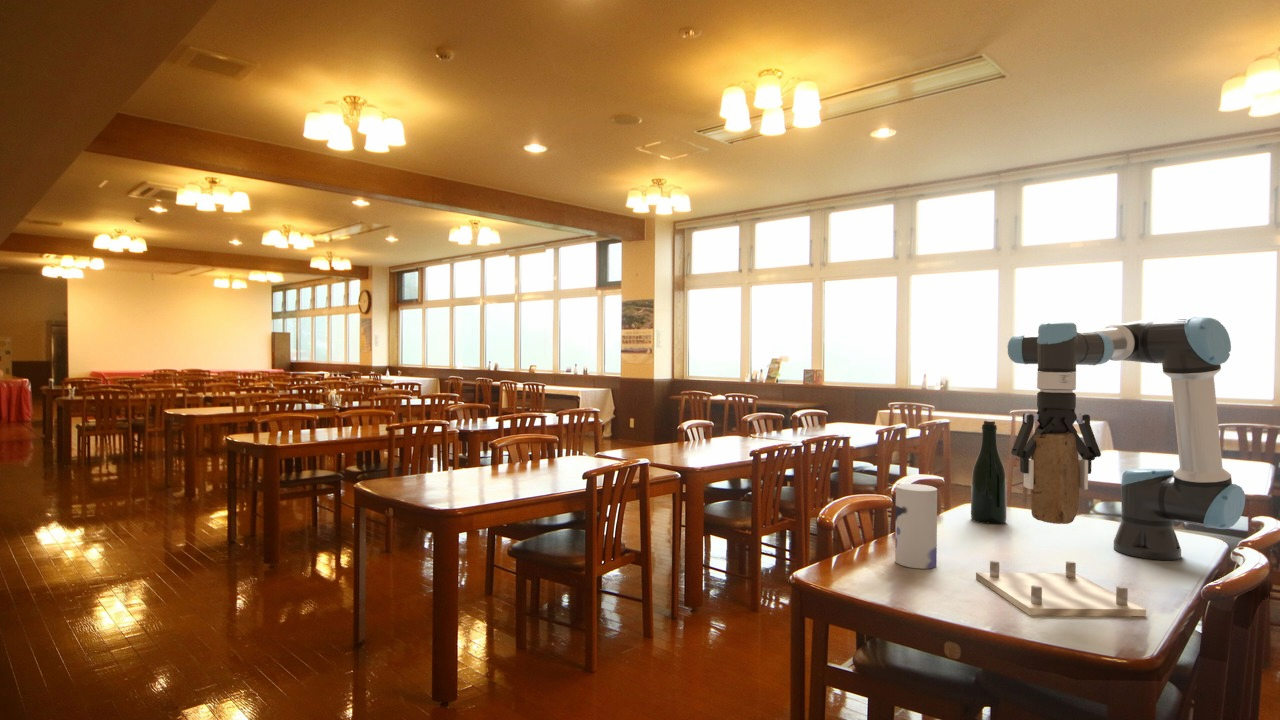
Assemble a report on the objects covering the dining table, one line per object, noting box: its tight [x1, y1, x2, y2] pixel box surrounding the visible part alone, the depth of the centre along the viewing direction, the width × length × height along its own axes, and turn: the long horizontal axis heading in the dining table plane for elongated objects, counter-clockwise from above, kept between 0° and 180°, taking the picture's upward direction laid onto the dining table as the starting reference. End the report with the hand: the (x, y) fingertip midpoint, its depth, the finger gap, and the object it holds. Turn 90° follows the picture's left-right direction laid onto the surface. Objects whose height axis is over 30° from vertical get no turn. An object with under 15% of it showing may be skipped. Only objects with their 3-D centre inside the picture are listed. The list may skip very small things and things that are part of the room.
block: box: [1030, 432, 1080, 525], centre depth 157 cm, size 11×8×20 cm
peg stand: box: [975, 560, 1147, 617], centre depth 158 cm, size 24×24×5 cm
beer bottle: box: [970, 420, 1007, 525], centre depth 229 cm, size 10×10×33 cm
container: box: [894, 483, 938, 570], centre depth 182 cm, size 10×10×20 cm
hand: (1055, 488), depth 157 cm, fingers closed on block, 11 cm apart
